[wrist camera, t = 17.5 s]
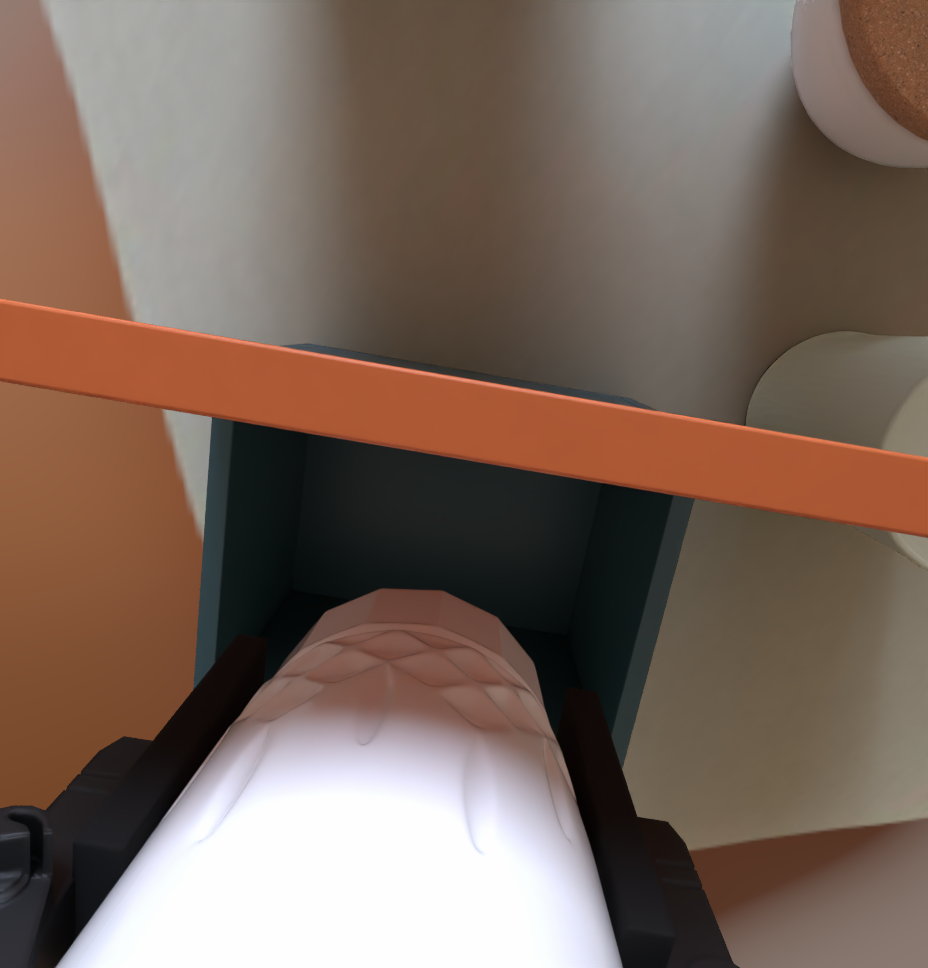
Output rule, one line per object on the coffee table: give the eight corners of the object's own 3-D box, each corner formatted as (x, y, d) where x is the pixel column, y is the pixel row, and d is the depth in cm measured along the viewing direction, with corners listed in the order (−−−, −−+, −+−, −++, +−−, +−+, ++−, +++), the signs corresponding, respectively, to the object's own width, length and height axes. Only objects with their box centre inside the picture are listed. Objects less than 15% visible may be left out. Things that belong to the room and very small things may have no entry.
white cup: (490, 512, 15) (507, 858, 5) (610, 774, 16) (797, 1412, 7) (204, 633, 16) (-236, 1118, 6) (345, 870, 17) (173, 1551, 8)
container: (575, 642, 37) (618, 783, 25) (281, 594, 37) (191, 714, 25) (632, 399, 33) (711, 435, 22) (307, 343, 33) (215, 350, 22)
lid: (1294, 600, 6) (1322, 524, 6) (-443, 307, 6) (-446, 222, 6) (714, 449, 22) (719, 426, 21) (209, 362, 21) (211, 339, 21)
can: (781, 530, 35) (931, 631, 23) (717, 383, 33) (846, 413, 21) (943, 454, 34) (1187, 521, 22) (886, 298, 32) (1120, 280, 20)
